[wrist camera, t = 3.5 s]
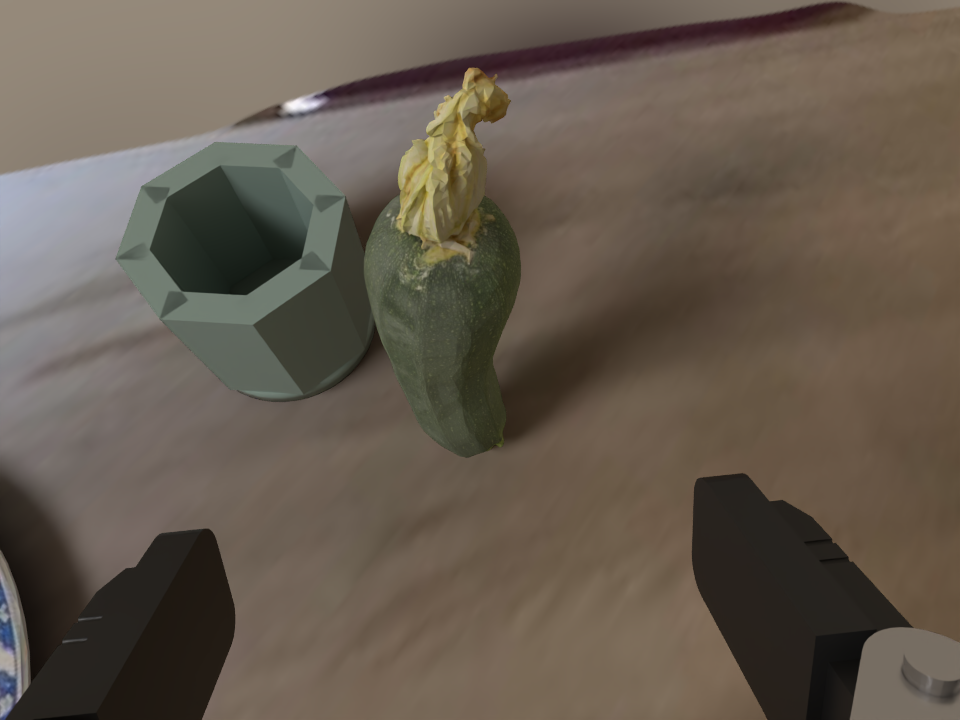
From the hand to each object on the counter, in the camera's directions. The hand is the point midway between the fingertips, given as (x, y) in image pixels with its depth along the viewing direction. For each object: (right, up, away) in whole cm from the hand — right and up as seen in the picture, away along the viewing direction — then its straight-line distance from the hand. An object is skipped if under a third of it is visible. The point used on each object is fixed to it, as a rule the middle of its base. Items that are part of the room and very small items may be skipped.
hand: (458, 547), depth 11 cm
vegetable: (0, 0, +20) cm, 20 cm away
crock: (-9, +5, +22) cm, 24 cm away
